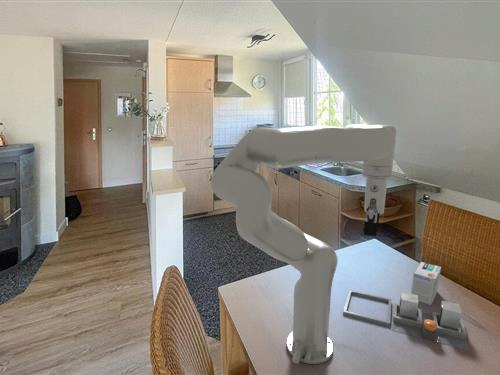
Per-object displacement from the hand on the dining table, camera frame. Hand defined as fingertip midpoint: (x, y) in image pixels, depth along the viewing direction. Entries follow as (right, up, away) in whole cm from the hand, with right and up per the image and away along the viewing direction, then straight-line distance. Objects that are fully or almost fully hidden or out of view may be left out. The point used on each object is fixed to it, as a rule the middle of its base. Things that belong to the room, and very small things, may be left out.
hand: (371, 229), depth 92 cm
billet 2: (+24, -29, +3) cm, 38 cm away
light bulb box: (+26, -27, +20) cm, 42 cm away
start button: (+16, -28, -1) cm, 32 cm away
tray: (+3, -28, +12) cm, 31 cm away
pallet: (+18, -30, +4) cm, 35 cm away
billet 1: (+14, -28, +7) cm, 32 cm away
